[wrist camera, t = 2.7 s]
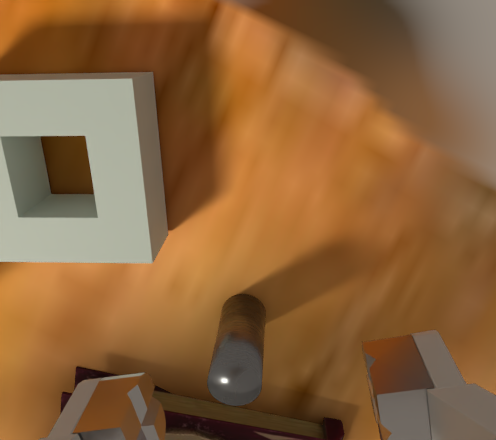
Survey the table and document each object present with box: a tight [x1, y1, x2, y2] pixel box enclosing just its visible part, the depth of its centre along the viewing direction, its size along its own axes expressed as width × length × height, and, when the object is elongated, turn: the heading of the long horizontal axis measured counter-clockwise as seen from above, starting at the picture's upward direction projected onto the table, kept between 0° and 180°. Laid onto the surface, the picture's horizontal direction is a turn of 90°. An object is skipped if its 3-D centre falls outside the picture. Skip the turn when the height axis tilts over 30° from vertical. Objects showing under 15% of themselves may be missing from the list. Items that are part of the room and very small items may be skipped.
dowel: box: [207, 294, 265, 406], centre depth 29 cm, size 3×3×7 cm
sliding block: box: [0, 72, 168, 263], centre depth 26 cm, size 10×10×4 cm
